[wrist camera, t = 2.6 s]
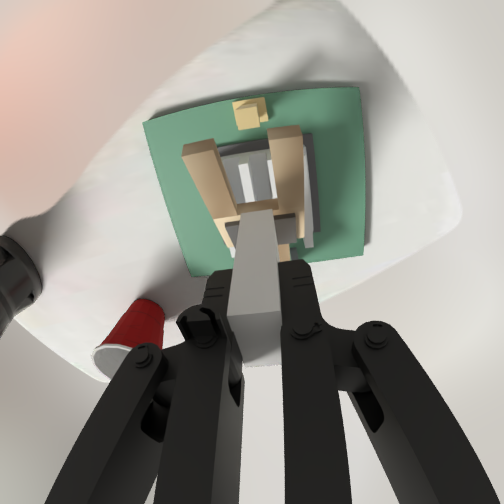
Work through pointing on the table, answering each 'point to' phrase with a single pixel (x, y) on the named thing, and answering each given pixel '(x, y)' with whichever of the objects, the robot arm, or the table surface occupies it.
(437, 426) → the robot arm
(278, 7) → the table surface
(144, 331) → the plastic cup
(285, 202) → the strap
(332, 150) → the board
